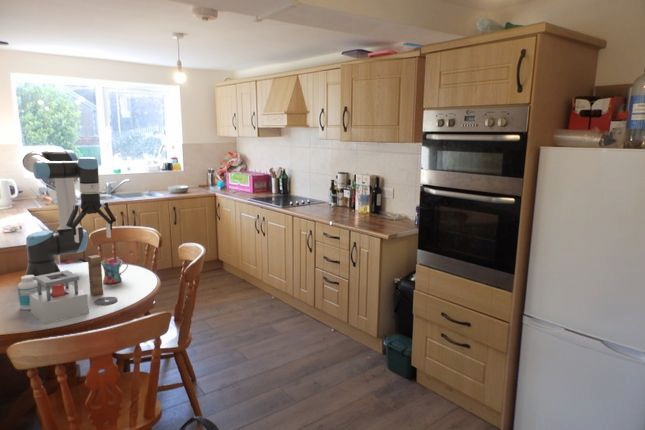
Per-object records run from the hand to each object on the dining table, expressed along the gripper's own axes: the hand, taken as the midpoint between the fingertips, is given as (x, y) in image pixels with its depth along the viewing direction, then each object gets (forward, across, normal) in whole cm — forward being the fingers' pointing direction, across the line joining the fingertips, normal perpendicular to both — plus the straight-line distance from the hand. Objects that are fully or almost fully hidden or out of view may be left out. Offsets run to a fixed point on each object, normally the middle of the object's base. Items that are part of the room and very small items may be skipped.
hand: (93, 239), depth 192 cm
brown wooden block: (+26, 0, 0) cm, 26 cm away
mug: (+26, +14, +12) cm, 32 cm away
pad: (+26, -1, -12) cm, 28 cm away
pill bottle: (+26, -25, +4) cm, 36 cm away
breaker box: (+26, -19, -11) cm, 34 cm away
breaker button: (+22, -19, -11) cm, 31 cm away
